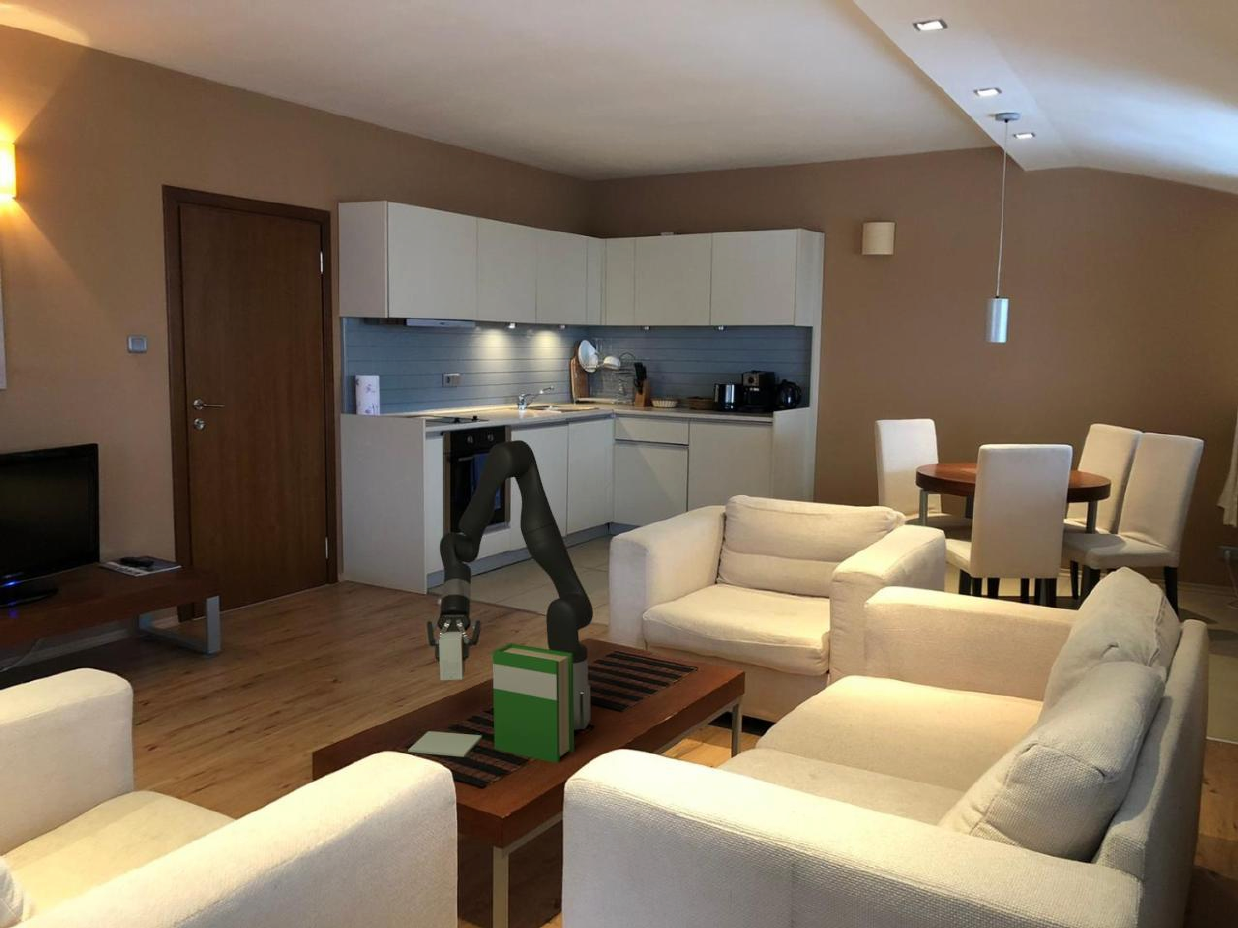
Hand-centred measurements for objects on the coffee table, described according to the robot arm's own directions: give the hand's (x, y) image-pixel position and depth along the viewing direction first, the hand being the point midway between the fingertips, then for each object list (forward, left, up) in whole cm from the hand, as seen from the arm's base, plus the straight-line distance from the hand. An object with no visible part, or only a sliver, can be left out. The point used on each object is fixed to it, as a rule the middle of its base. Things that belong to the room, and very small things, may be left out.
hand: (451, 659), depth 251 cm
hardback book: (-24, +9, -18) cm, 31 cm away
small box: (0, -2, -5) cm, 5 cm away
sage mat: (-2, +10, -18) cm, 21 cm away
